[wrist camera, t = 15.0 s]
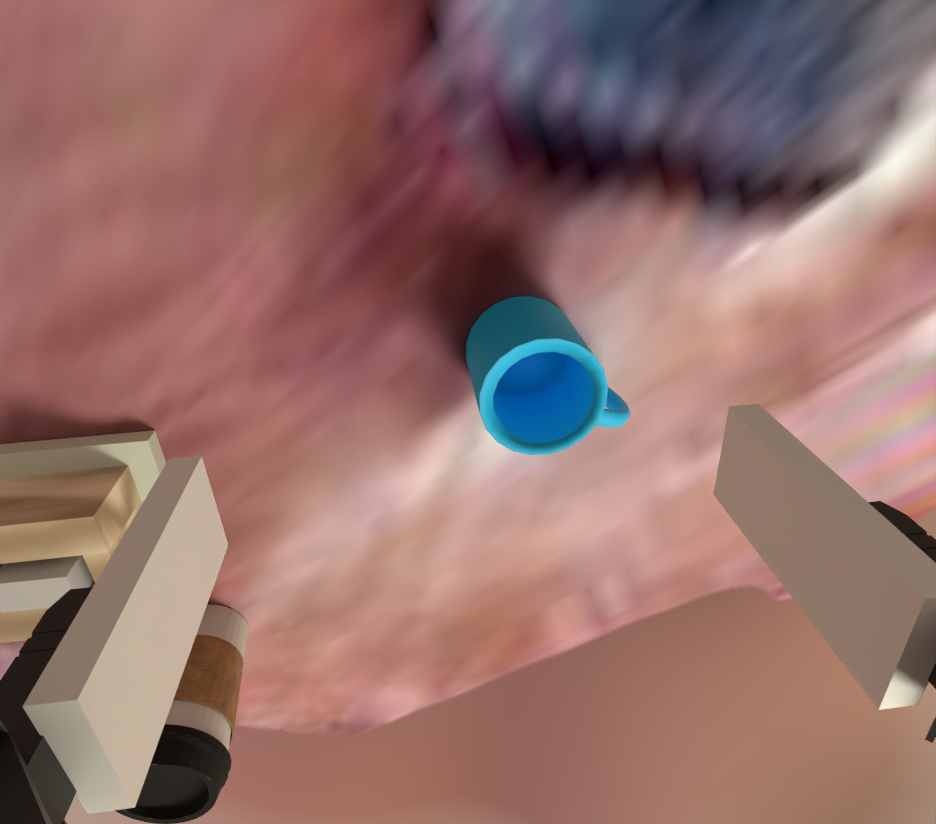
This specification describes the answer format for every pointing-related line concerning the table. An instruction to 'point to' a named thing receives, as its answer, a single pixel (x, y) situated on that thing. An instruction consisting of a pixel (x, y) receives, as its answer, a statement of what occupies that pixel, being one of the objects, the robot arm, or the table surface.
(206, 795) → the coffee cup
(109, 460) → the base
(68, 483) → the collar
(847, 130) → the table surface
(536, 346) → the mug
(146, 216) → the table surface
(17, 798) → the robot arm
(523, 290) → the table surface
